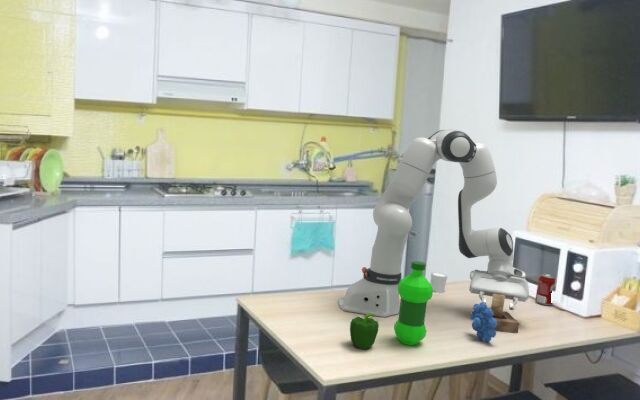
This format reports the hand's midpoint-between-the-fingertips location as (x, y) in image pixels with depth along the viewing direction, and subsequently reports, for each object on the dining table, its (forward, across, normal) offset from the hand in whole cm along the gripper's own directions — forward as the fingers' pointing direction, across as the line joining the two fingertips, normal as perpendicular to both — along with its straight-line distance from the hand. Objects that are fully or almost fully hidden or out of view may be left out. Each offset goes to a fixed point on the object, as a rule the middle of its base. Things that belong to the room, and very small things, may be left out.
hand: (497, 306), depth 192 cm
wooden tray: (+4, 0, +5) cm, 7 cm away
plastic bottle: (+27, -28, -17) cm, 43 cm away
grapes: (+17, -6, -7) cm, 20 cm away
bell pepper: (+35, -40, -25) cm, 59 cm away
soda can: (-25, +22, +34) cm, 48 cm away
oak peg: (+4, 0, +5) cm, 7 cm away
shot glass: (-19, -21, +29) cm, 41 cm away
